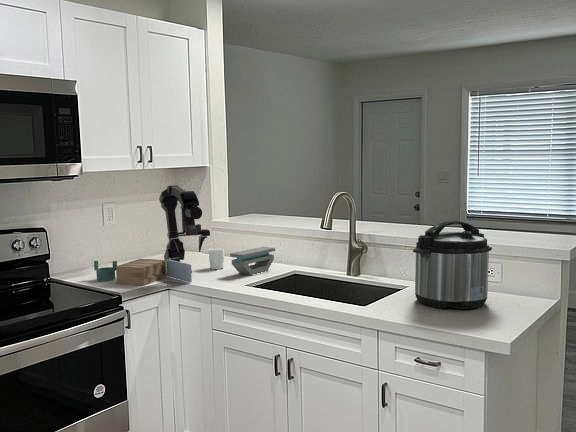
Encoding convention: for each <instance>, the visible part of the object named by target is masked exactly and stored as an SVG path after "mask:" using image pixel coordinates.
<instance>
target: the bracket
mask: <svg viewBox="0 0 576 432" xmlns="http://www.w3.org/2000/svg"><path fill="white" fill-rule="evenodd" d="M116 266H118V261H117V260H113V261H112V266H108V267H107V266H106V267H99V260H93V270H94V271H95V272H96V282H101V283H105V282H112V281H115V280H116Z"/></svg>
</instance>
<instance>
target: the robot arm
mask: <svg viewBox="0 0 576 432" xmlns="http://www.w3.org/2000/svg"><path fill="white" fill-rule="evenodd" d="M198 198H199V197H198V196H197V194H196V191H193V190H186V189H184V188H182V187H179V185H175V184H174V185H173V184H171V185H168V186H166V189H164V190H163V191H161V193H160V195H159V203H160V207H161V208H162V209H163V211H164V212H165V217H166V218H165V220H166V227H167V228H166V229H167V233H166V235H167V239H168V242H167V244H166V249H165V253H164V255H163V258H164V259H163V260H166V259H169V260H173V261H178V262H181V261H183V260H185V254H186V253H185V252H186V249H185V247H184V242H183V241H181V240H180V237H190V236H198V252H199V253H200V252H201V250H202V247H203V246H202V245H203V244H204V241H205V239H208V237H209V236H211V231H210V230H209V229H208V228H206V229H205V228H204V229H203V228H202V224H201V223H199V224H196V220H199V219H201V218H202V216H203V211H202V209H201V207H199V206H200V201H199V199H198ZM178 202H179V204H180V209H181V229H182V230H181V232H178V223H177V216H176V208H177V206H178Z"/></svg>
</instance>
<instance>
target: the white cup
mask: <svg viewBox="0 0 576 432" xmlns="http://www.w3.org/2000/svg"><path fill="white" fill-rule="evenodd" d="M208 259H209V269H210V268H211V269H210V270H214V269H219V270H222V269H221V268H223V269H224V264H225V248H223V247H212V248H208Z"/></svg>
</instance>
